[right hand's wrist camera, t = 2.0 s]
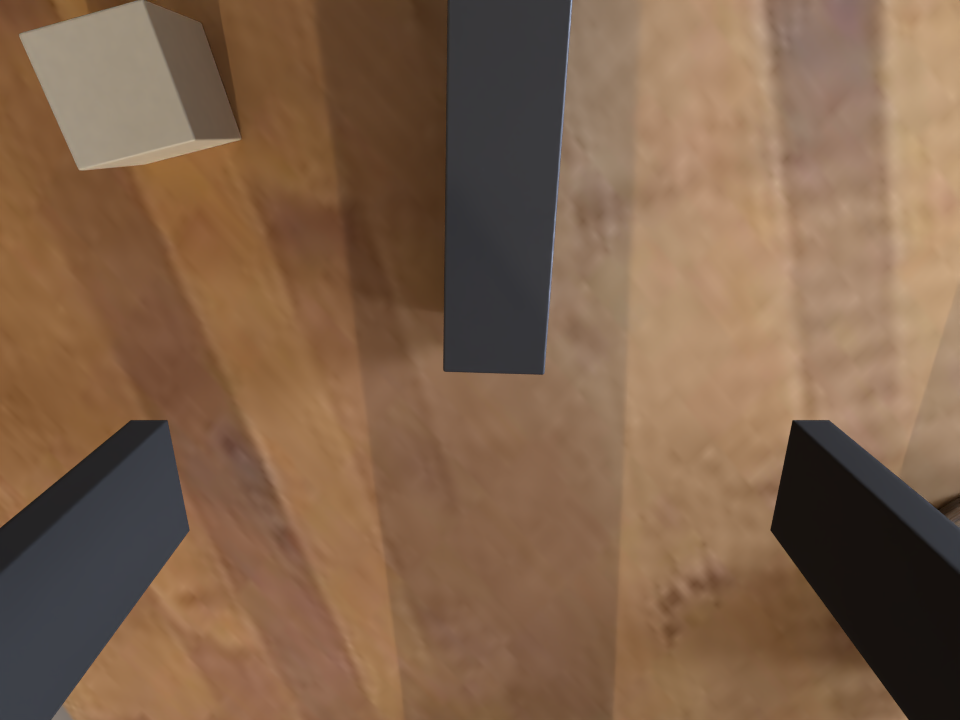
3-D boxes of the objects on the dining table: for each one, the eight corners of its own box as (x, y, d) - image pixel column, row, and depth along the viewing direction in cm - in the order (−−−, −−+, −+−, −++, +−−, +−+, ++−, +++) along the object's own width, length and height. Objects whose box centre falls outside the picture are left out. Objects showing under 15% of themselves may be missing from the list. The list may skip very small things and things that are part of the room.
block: (201, 21, 27) (142, -2, 22) (242, 139, 28) (195, 140, 24) (96, 50, 27) (16, 33, 22) (143, 165, 29) (78, 171, 24)
